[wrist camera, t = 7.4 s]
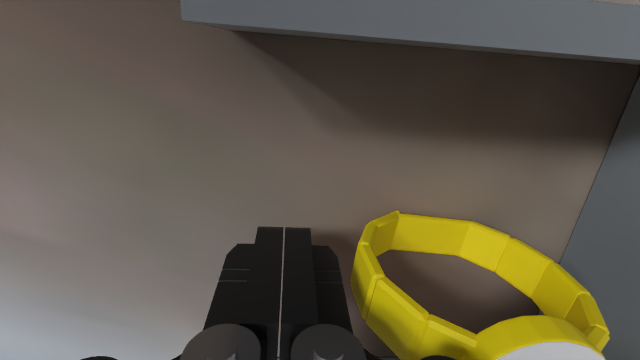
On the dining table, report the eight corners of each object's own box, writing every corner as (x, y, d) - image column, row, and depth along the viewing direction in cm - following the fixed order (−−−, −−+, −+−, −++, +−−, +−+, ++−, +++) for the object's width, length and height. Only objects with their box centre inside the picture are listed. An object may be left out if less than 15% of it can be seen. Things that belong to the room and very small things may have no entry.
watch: (339, 252, 12) (355, 428, 6) (354, 183, 11) (389, 321, 5) (498, 274, 12) (642, 460, 7) (527, 208, 11) (724, 363, 6)
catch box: (229, -5, 8) (177, -42, 5) (681, 38, 10) (924, 34, 6) (238, 372, 14) (216, 495, 10) (531, 370, 15) (610, 479, 11)
